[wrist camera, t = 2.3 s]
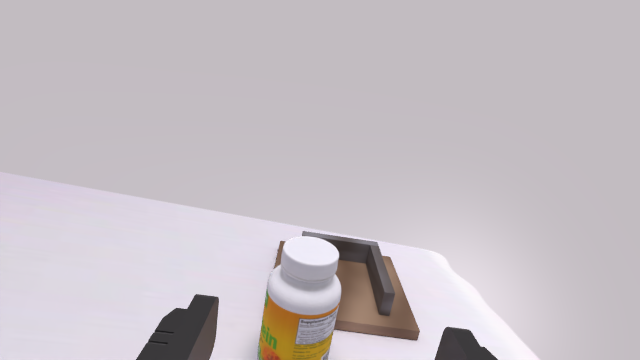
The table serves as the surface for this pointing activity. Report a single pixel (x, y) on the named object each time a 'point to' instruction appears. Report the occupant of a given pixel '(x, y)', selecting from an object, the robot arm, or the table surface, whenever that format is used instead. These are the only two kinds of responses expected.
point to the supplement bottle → (301, 302)
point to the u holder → (368, 290)
